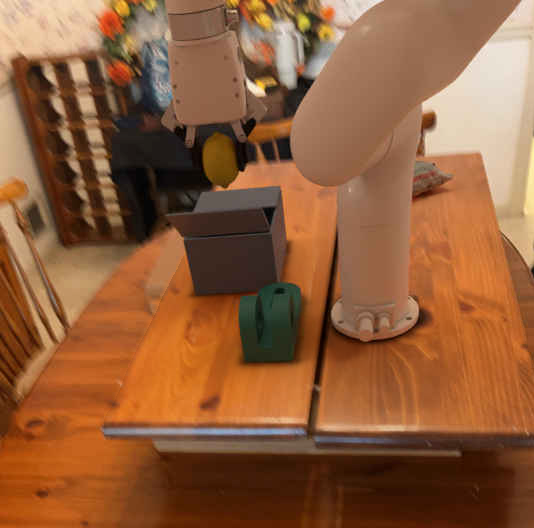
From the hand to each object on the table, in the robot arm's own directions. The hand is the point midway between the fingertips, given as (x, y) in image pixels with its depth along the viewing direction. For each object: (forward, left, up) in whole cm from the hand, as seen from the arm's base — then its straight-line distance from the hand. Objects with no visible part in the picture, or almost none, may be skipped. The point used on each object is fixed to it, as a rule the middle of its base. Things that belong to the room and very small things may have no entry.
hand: (222, 169), depth 95 cm
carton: (+3, 0, -18) cm, 18 cm away
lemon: (0, 0, -3) cm, 3 cm away
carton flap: (-8, 0, -5) cm, 9 cm away
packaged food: (+29, -30, -18) cm, 46 cm away
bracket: (-16, -8, -18) cm, 25 cm away
